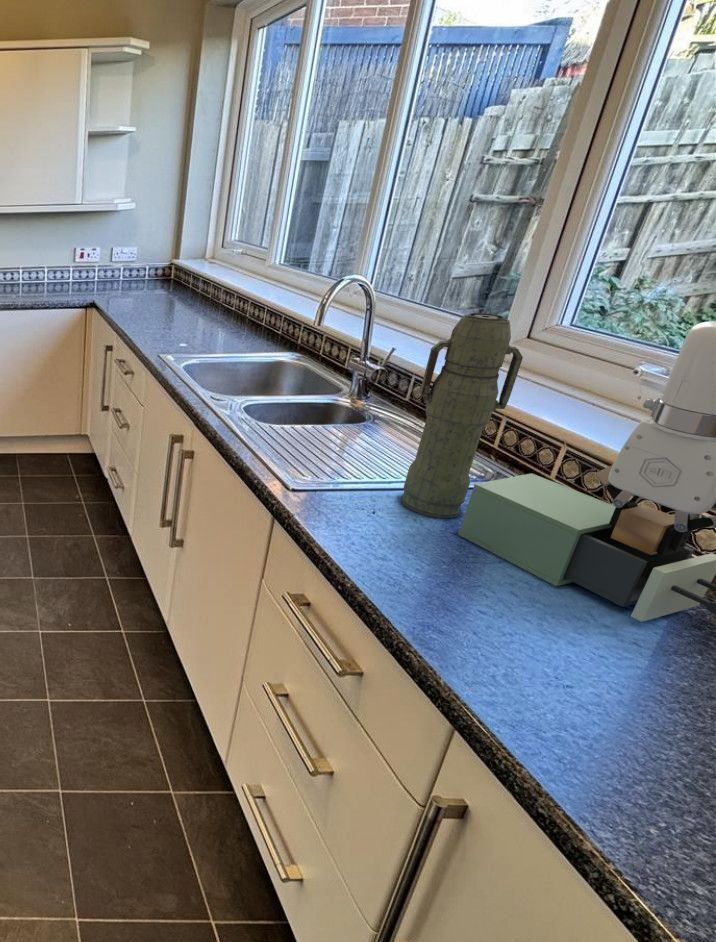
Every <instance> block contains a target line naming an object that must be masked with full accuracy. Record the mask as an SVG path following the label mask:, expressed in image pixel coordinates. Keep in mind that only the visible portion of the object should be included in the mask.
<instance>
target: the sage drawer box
mask: <svg viewBox="0 0 716 942" xmlns="http://www.w3.org/2000/svg"><path fill="white" fill-rule="evenodd" d="M615 508H616V507H615V506H614V505H613V504H611V503H608V502H605V501H603V500H601V499H598V498H595V497H594V496H591V495H588V494H586V493H583V492H580V491H578V490H576V489H572V488H570V487H568V486H565V485H562V484H560V483H557V482H555V481H552V480H549V479H547V478H545V477H543V476H539V475H537V474H535V473H532V472H531V473H526V474H521V475H515V476H510V477H504V478H500V479H494V480H487V481H483V482H477V483H474V485H473V488H472V491H471V494H470V497H469V500H468V504H467V506H466V510H465V513H464V516H463V519H462V522H461V525H460V528H459V531H458V534H457V535H458V536H460V537H462V538H464V539H466V540H467V541H469V542H471V543H473V544H475V545H477V546H478V547H480V548H482V549H485V550H486V551H488V552H490V553H492V554H494V555H496V556H498V557H500V558H501V559H504V560H505V561H508V562H509V563H511V564H513V565H515V566H517V567H519V568H521V569H522V570H524V571H526V572H528V573H530V574H532V575H534V576H536V577H537V578H539V579H542V580H543V581H545V582H547V583H548V584H551V585H553V586H554V587H560V586H563V585H567V584H572V583H574V582H573V581H571V580H569V579H567V578H565V577H564V574H565V572H566V569H567V567H568V564H569V562H570V560H571V557H572V555H573V552H574V550H575V547H576V545H577V542H578V540H579V538H580V535H581V534H583V533H588V532H592V531H597V530H601V529H606V528H610V527H611V525H610V524H609V522H610V520H611V517H612V515H613V513H614V510H615Z"/></svg>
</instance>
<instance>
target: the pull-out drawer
mask: <svg viewBox="0 0 716 942" xmlns="http://www.w3.org/2000/svg"><path fill="white" fill-rule="evenodd" d="M610 528H611V527H610ZM610 528H606V529H601V530H597V531H592V532H588V533H583V534H581V535H580V538H579V540H578V542H577V545H576V547H575V550H574V552H573V555H572V557H571V560H570V562H569V564H568V567H567V569H566V572H565V574H564V577H565V578H567V579H569V580H571V581H573V582H572V583H575V584H577V585H578V586H580V587H582V588H584V589H586V590H588V591H590V592H592V593H594V594H596V595H598V596H600V597H602V598H604V599H606V600H608V601H610V602H612V603H614V604H616V605H618V606H620V607H622V608H624V607H625V608H626V607H628V606H633V605H635V606H634V608H633V610H632V613H631V614H630V617H631V618H633V619H635V620H637V621H639V622H640V623H642V622H646V621H650V620H653V619H658V618H660V617H663V616H668V615H671V614H674V613H678V612H682V611H685V610H689V609H693V608H696V607H699V606H700V605H703V606H705V607H706V610H707V611H708V612H710V613H711V614H714V615H716V600H714V601H711V600H709V599H706V598H704V597H705V595H706V594H707V592H708V590H712V591H714V592H716V584H715V583H712V581H713V580H714V578H715V576H716V554H715V553H713V552H710V553H707V554H703V555H698V556H695V557H692V556H693V553H694V552H695V549H694V548H691V547H689V546H686V545H685V547H684V549H683V550H682V551H680V552H676V553H672V554H668V555H664V556H662V555H660V554H658V553H657V554H653V555H649V554H647V553H645V552H643V551H640V550H638V549H636V548H633V547H631V546H629V545H626V544H624V543H622V542H619V541H617V540H615V539H612V538H611V535H612V534H611V533H609V530H610Z"/></svg>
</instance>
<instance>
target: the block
mask: <svg viewBox="0 0 716 942" xmlns="http://www.w3.org/2000/svg"><path fill="white" fill-rule="evenodd" d="M637 506H638V505H637ZM674 521H675V515H672V514H670V513H667V512H664V511H662V510H659V509H656V508H654V507H651V506H648V505H645V504H641V505H639V506H638V507H633V508H629V509H624V510H622V512H621V514H620V516H619V519H618V521H617V523H616V526H615V528H614V530H613V533H612V535H611V538H612V539H615V540H617V541H619V542H622V543H624V544H626V545H629V546H631V547H633V548H636V549H638V550H640V551H643V552H645V553H647V554H649V555H653V554H657V552H656V551H657V548H658V546H659V544H660V542H661V540H662V538H663V535H664V533H665V531H666V529H667V528H670V527H673V525H674Z"/></svg>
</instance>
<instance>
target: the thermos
mask: <svg viewBox="0 0 716 942" xmlns="http://www.w3.org/2000/svg"><path fill="white" fill-rule="evenodd" d="M510 322H511V321H510V319H508V318H506V317H505V316H503V315H500V314H494V313H486V312H470V313H468V314H464V315H462V316H461V317H460V319H459V320H458V322H457V323H456V324H455V326H454V328H453V329H452V332H451V334H450V338H449V339H448V340H440V341H439V342H437V343H436V344H435V345H433V346H432V347H431V348H430V352H429V356H428V360H427V363H426V367H425V370H424V374H423V378H422V382H421V385H420V388H419V394H420V396H421V397H422V398H423V400H425V401H426V402H427V403H426V407H425V411H424V412H425V415H426V419H425V423H424V427H423V430H422V434H421V437H420V441H419V444H418V448H417V451H416V455H415V459H414V460H413V462H412V463H411V464H410V465H409V467H408V471H407V473H406V476H405V477H406V478H405V481H404V484H403V494H402V496H401V499H400V501H401V503H402V505H403V506H405V507H406V508H407V509H409V510H411V511H413V512H415V513H418V514H421V515H423V516H426V517H431V518H438V519H454V518H456V517H458V516H459V514H460V511H461V507H462V505H463V503H464V504H465V500H466V497H467V494H468V490H469V487H470V485H471V479H470V471H471V468H472V466H473V465H472V464H473V462H474V459H475V456H476V453H477V450H478V446H479V443H480V441H481V436H482V433H483V431H484V429H485V427H486V426H487V425H488V424H489V423H490V420H491V418H492V414H493V413H494V412H495V413H496V410H505V408H506V406H507V405H508V402H509V400H510V398H511V395H512V392H513V389H514V385H515V383H516V380H517V377H518V374H519V370H520V367H521V364H522V362H523V358H524V357H523V355H522V353H521V352H520V350H519V348H518V347H516V346H514V345H513V346H512V345H510V342H511V339H512V332H511V324H510ZM444 348H446V352H445V355H444V363H443V365H442V366H441V370H440V372H439V374H438V375H437V377H436V378H435V379H434V381H432V380H433V377H434V376H433V375H434V373H435V370H436V369H435V368H436V365H437V361H438V358H439V354H440V352H441V351H442V350H443V349H444ZM511 354H512V357H511V360H510V364H509V367H508V370H507V373H506V376H505V380H504V383H503V385H502V389H501V392H500V395H499V385H498V380H499V377H500V373H499V372H500V368H502V367H503V364H504V362H505V358H506V355H509V356H511ZM432 382H433V383H432ZM431 384H432V386H431ZM430 388H431V390H430ZM498 395H499V398H498ZM497 398H498V399H497Z"/></svg>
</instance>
